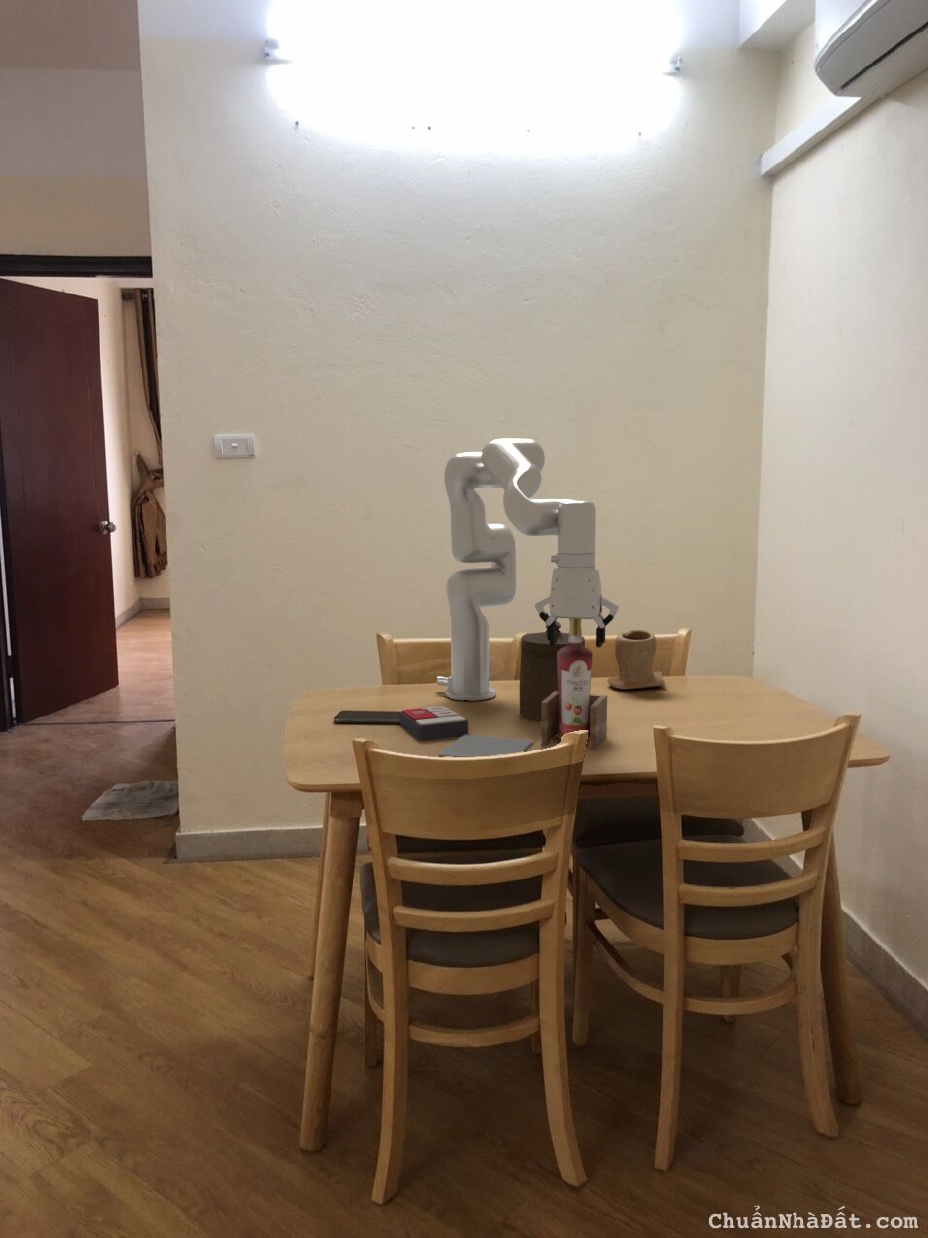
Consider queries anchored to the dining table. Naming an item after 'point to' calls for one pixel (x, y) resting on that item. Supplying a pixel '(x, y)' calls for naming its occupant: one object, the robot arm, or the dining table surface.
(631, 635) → the stone cup
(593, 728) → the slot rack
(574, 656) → the liquor
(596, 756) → the dining table surface
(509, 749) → the slate mat
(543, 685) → the wooden container
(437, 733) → the navy red white box
